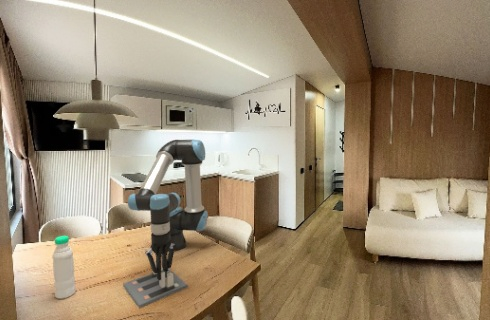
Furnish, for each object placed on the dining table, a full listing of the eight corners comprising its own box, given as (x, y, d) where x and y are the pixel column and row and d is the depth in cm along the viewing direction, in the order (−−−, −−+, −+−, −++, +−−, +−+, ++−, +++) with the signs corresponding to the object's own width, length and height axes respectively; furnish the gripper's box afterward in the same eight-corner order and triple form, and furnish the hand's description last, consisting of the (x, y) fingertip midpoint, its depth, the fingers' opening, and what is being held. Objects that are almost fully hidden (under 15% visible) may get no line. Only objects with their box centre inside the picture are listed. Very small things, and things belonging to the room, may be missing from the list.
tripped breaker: (165, 287, 111) (164, 274, 111) (171, 284, 113) (171, 271, 113) (167, 289, 110) (167, 276, 109) (174, 287, 112) (173, 274, 111)
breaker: (152, 274, 122) (151, 262, 121) (158, 272, 124) (157, 260, 123) (154, 276, 120) (153, 264, 119) (160, 274, 122) (160, 262, 121)
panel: (123, 286, 115) (123, 283, 115) (167, 269, 129) (167, 267, 129) (139, 308, 100) (139, 305, 100) (187, 287, 114) (187, 284, 114)
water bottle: (72, 287, 114) (68, 232, 112) (78, 293, 110) (74, 236, 107) (53, 295, 109) (48, 237, 106) (58, 301, 104) (54, 242, 102)
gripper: (148, 238, 100) (150, 296, 102) (179, 230, 109) (180, 283, 111) (141, 233, 106) (143, 288, 108) (171, 225, 114) (172, 276, 116)
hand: (162, 285), depth 109 cm, fingers closed
